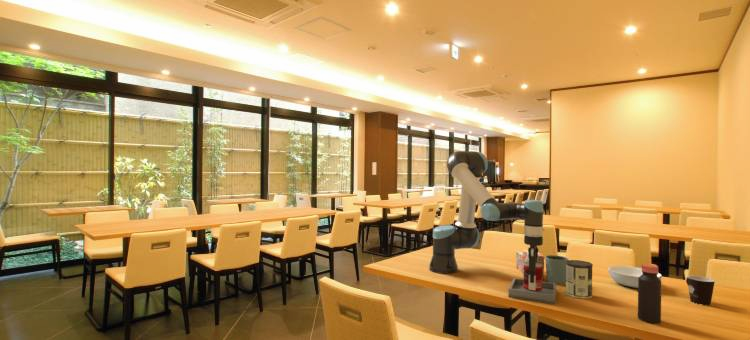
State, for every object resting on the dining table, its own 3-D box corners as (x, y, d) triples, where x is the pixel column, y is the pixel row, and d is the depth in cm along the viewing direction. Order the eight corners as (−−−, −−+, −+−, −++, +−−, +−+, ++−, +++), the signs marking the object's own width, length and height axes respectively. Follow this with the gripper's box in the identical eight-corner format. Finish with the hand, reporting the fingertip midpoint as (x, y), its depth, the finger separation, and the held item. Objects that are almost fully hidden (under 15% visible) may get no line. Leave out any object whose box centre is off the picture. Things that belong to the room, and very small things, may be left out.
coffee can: (580, 290, 168) (581, 259, 168) (598, 298, 158) (598, 265, 158) (560, 291, 166) (560, 260, 166) (576, 299, 156) (576, 266, 156)
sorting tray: (508, 296, 158) (508, 288, 158) (513, 285, 174) (513, 277, 174) (555, 304, 150) (555, 295, 150) (555, 291, 166) (556, 283, 166)
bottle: (641, 322, 133) (641, 267, 133) (635, 315, 140) (636, 262, 140) (663, 325, 131) (664, 269, 131) (656, 318, 137) (657, 264, 137)
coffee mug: (716, 308, 148) (717, 283, 148) (688, 303, 152) (689, 279, 152) (709, 299, 158) (710, 276, 158) (683, 295, 162) (684, 272, 162)
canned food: (543, 287, 164) (543, 263, 164) (540, 292, 157) (541, 267, 157) (525, 284, 168) (525, 260, 168) (521, 289, 161) (522, 264, 161)
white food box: (516, 268, 205) (516, 246, 205) (527, 268, 205) (527, 246, 205) (531, 280, 183) (531, 255, 183) (544, 280, 183) (544, 255, 183)
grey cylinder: (542, 281, 180) (542, 257, 180) (548, 277, 188) (549, 253, 188) (564, 286, 173) (564, 261, 173) (570, 281, 181) (570, 257, 181)
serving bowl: (663, 285, 177) (664, 271, 177) (658, 296, 161) (658, 280, 161) (613, 276, 191) (613, 263, 191) (603, 285, 176) (603, 271, 176)
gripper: (541, 240, 151) (540, 295, 151) (543, 232, 170) (543, 281, 170) (521, 238, 155) (521, 292, 155) (526, 231, 173) (525, 279, 173)
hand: (532, 286), depth 162 cm, fingers closed on canned food, 8 cm apart
